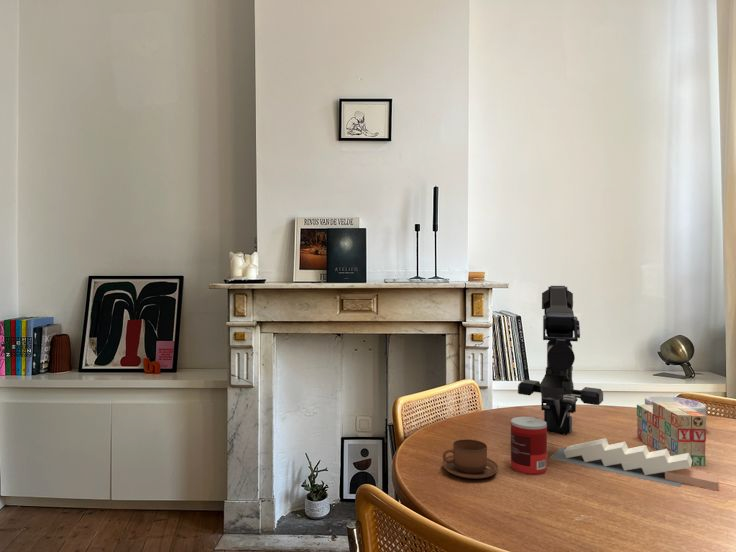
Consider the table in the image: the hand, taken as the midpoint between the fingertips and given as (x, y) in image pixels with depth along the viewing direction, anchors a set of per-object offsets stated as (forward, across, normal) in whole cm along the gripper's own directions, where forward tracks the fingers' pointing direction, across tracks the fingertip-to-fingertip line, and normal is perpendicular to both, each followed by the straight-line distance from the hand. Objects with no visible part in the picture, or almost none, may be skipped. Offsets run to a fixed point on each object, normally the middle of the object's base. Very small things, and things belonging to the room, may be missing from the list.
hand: (559, 427), depth 118 cm
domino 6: (+6, +22, 0) cm, 23 cm away
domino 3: (+6, +10, 0) cm, 12 cm away
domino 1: (+6, +2, 0) cm, 6 cm away
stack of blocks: (+7, +21, +19) cm, 30 cm away
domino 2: (+6, +6, 0) cm, 8 cm away
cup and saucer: (+7, -13, -23) cm, 27 cm away
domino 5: (+6, +18, 0) cm, 19 cm away
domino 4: (+6, +14, 0) cm, 15 cm away
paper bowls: (+7, +21, +44) cm, 50 cm away
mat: (+7, +12, 0) cm, 14 cm away
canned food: (+7, -3, -14) cm, 16 cm away
